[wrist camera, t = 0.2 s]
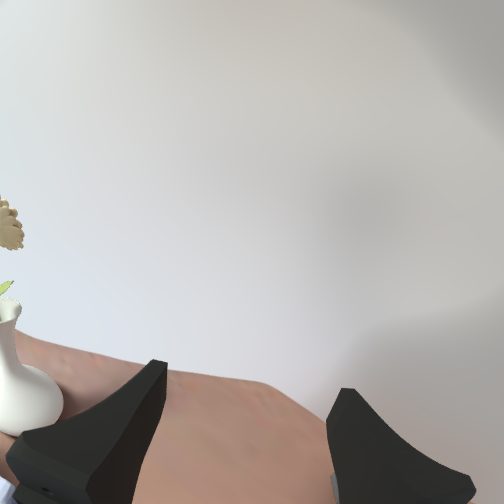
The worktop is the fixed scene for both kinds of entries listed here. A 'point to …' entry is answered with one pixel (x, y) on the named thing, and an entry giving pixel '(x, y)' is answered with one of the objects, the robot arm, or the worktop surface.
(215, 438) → the worktop surface
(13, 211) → the flower in vase
